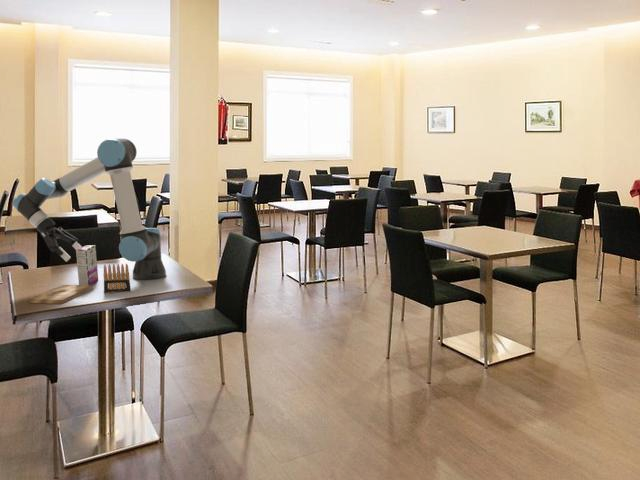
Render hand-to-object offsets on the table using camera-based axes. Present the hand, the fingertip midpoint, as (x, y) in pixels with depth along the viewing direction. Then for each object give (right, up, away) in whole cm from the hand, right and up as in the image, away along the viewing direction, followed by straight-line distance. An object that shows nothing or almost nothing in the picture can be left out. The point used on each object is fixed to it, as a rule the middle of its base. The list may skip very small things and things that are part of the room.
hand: (76, 256), depth 272 cm
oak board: (+2, -16, -20) cm, 25 cm away
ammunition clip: (+23, -15, -14) cm, 31 cm away
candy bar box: (+5, -12, +2) cm, 13 cm away
